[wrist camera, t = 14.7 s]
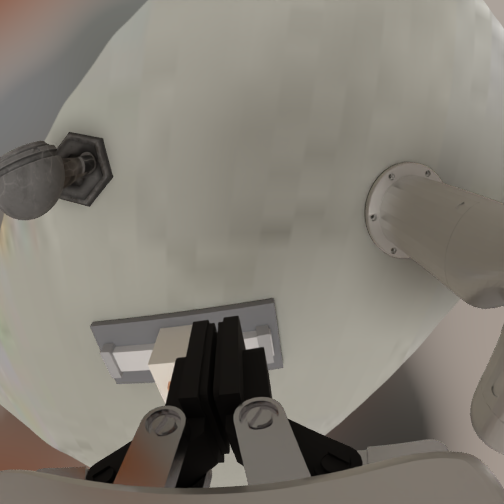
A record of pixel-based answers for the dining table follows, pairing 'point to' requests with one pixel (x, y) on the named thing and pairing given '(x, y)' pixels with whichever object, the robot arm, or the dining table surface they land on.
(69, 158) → the figurine
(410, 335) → the dining table surface
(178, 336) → the block
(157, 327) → the rail plate
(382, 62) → the dining table surface
